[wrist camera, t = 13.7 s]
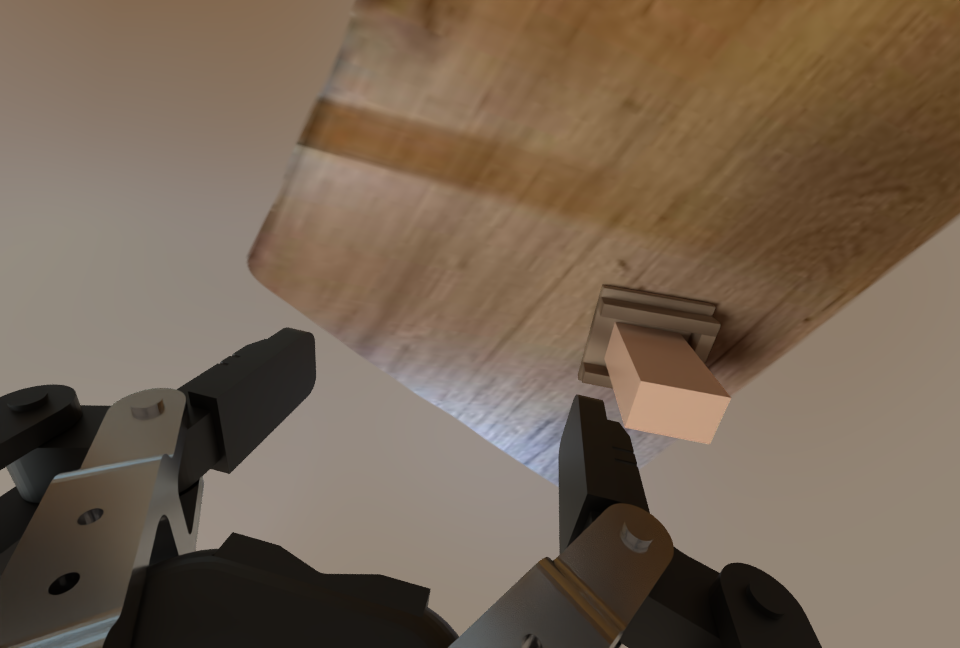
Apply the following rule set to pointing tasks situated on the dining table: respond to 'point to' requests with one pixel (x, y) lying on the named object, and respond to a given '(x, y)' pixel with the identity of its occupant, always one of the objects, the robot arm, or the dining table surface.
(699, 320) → the tray
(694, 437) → the clay block
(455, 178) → the dining table surface
